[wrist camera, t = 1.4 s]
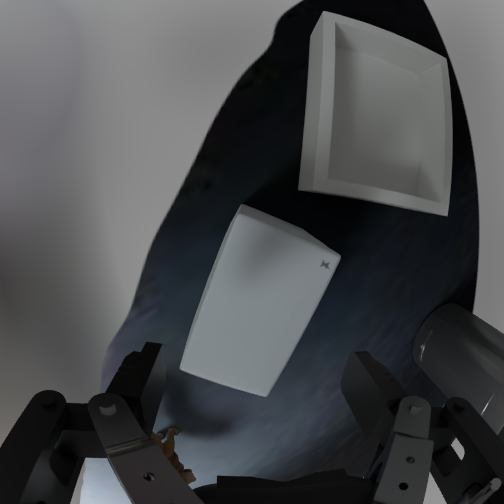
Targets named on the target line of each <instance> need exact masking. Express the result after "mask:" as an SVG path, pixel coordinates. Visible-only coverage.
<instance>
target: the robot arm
mask: <svg viewBox="0 0 504 504" xmlns="http://www.w3.org/2000/svg"><path fill="white" fill-rule="evenodd" d="M413 358H414V360H415V362H416V363H417V364H418V365H419V366H420V367H421V369H422V370H423V371H424V372H425V373H426V374H427V375H428V376H429V377H430V378H431V380H432V381H433V382H434V383H435V384H436V385H437V386H438V387H439V388H440V390H441V391H442V392H443V393H444V394H445V395H446V396H447V397H448V398H449V399H448V400H447V401H446V403H445V405H444V407H430V405H429V403H428V402H427V401H425V400H424V399H422V398H420V397H416V396H409V395H408V394H407V393H406V392H405V390H404V389H403V388H402V387H401V385H400V384H399V383H398V382H397V380H395V378H394V377H393V375H392V374H391V373H390V372H389V370H388V369H387V368H386V367H385V366H384V365H382V364H381V363H379V362H378V361H375V360H374V359H373V357H372V356H371V355H370V354H369V353H368V352H367V351H364V352H351V353H350V355H349V357H348V360H347V364H346V367H345V370H344V373H343V377H342V380H341V390H342V393H343V395H344V397H345V399H346V401H347V403H348V405H349V407H350V408H351V410H352V412H353V414H354V416H355V418H356V420H357V422H358V424H359V426H360V428H361V430H362V432H363V434H364V436H365V438H366V440H367V441H371V440H376V439H378V440H379V443H378V445H377V447H376V449H375V452H374V454H373V457H372V459H371V462H370V465H369V467H368V469H367V472H366V474H365V476H364V478H361V477H355V476H347V474H346V471H345V469H344V468H343V469H337V470H330V471H324V472H316V473H313V474H310V475H307V476H304V477H301V478H297V479H294V480H290V481H286V482H281V481H274V480H267V479H261V478H255V477H243V476H217V483H216V484H209V485H205V486H201V487H198V488H195V489H193V490H192V489H191V488H190V487H189V485H188V484H187V483H186V482H185V481H184V479H183V478H182V477H181V476H180V474H179V473H178V472H177V470H176V469H175V468H174V467H173V465H172V464H171V463H170V461H169V460H168V459H167V457H166V456H165V455H164V453H163V452H162V450H161V449H160V448H159V446H158V445H157V443H156V442H155V441H154V440H153V439H152V438H150V437H151V434H152V430H153V427H154V423H155V420H156V416H157V413H158V409H159V406H160V403H161V399H162V396H163V393H164V389H165V386H166V358H165V346H164V344H160V343H153V342H146V343H145V345H144V347H143V349H142V351H141V352H136V351H133V352H132V353H130V354H129V355H128V356H126V357H125V359H124V360H123V362H122V364H121V366H120V367H119V369H118V372H116V374H115V376H114V378H113V379H112V381H111V383H110V385H109V387H108V388H107V390H106V392H105V393H100V394H97V395H95V396H93V397H92V398H91V399H90V400H89V402H88V403H86V404H85V403H84V404H81V403H67V402H66V400H65V398H64V396H63V395H62V394H61V393H59V392H57V391H53V390H45V391H41V392H39V393H37V394H36V395H34V397H33V398H32V399H31V401H30V402H29V404H28V405H27V407H26V408H25V410H24V411H23V412H22V414H21V416H20V417H19V419H18V420H17V422H16V423H15V425H14V426H13V428H12V430H11V431H10V433H9V434H8V436H7V437H6V439H5V441H4V442H3V444H2V446H1V447H0V504H70V502H71V499H72V496H73V492H74V489H75V486H76V483H77V479H78V477H79V474H80V471H81V468H82V465H83V462H84V460H85V457H86V458H107V459H108V461H109V463H110V465H111V467H112V469H113V471H114V473H115V475H116V477H117V479H118V481H119V482H120V484H121V486H122V488H123V489H124V491H125V493H126V495H127V496H128V498H129V500H130V502H131V503H132V504H423V501H424V497H425V492H426V488H427V483H428V477H429V472H430V473H431V474H432V476H433V478H434V480H435V482H436V484H437V485H438V487H439V489H440V491H441V493H442V495H443V497H444V499H445V501H446V503H447V504H504V334H503V333H501V332H500V331H499V330H497V329H495V328H494V327H492V326H491V325H489V324H488V323H486V322H485V321H483V320H482V319H480V318H478V317H477V316H476V315H474V314H472V313H471V312H469V311H467V310H466V309H464V308H463V307H461V306H459V305H457V304H455V303H449V304H445V305H443V306H441V307H439V308H437V309H436V310H435V311H434V312H432V313H431V314H430V315H429V317H428V318H427V319H426V320H425V321H424V323H423V324H422V326H421V327H420V329H419V331H418V333H417V335H416V338H415V341H414V344H413ZM455 438H457V439H458V441H459V442H460V443H461V445H462V446H463V447H464V451H465V454H464V457H463V459H462V460H460V458H459V457H458V455H457V454H456V452H455V451H454V449H453V448H452V446H451V444H452V442H453V441H454V439H455Z"/></svg>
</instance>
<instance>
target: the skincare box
mask: <svg viewBox="0 0 504 504" xmlns="http://www.w3.org/2000/svg"><path fill="white" fill-rule="evenodd" d="M340 259H341V256H340V255H339V254H338V253H336V252H335V251H333V250H331V249H330V248H328V247H327V246H326V245H324V244H323V243H322V242H320V241H319V240H317V239H316V238H315V237H313V236H312V235H310V234H309V233H307V232H306V231H305V230H304V229H302V228H300V227H297V226H295V225H293V224H290V223H288V222H286V221H283V220H281V219H279V218H276V217H274V216H271V215H269V214H267V213H264V212H262V211H259V210H257V209H254V208H252V207H249V206H247V205H244V204H241V205H240V207H239V209H238V211H237V213H236V214H235V216H234V218H233V220H232V222H231V224H230V226H229V229H228V231H227V233H226V236H225V238H224V240H223V243H222V245H221V248H220V250H219V253H218V255H217V258H216V260H215V263H214V266H213V268H212V271H211V273H210V276H209V279H208V281H207V284H206V287H205V289H204V292H203V295H202V298H201V300H200V303H199V306H198V309H197V312H196V315H195V318H194V321H193V324H192V327H191V330H190V333H189V337H188V340H187V343H186V347H185V350H184V354H183V358H182V361H181V365H180V369H181V370H183V371H185V372H187V373H190V374H193V375H195V376H198V377H201V378H204V379H207V380H210V381H213V382H216V383H219V384H222V385H225V386H228V387H232V388H235V389H239V390H242V391H245V392H249V393H253V394H256V395H260V396H264V397H266V396H268V395H269V394H270V392H271V390H272V388H273V386H274V385H275V383H276V381H277V379H278V378H279V376H280V374H281V372H282V371H283V369H284V367H285V365H286V364H287V362H288V360H289V358H290V357H291V355H292V353H293V351H294V349H295V347H296V346H297V344H298V342H299V340H300V338H301V336H302V334H303V332H304V331H305V329H306V327H307V325H308V323H309V321H310V319H311V317H312V315H313V314H314V312H315V310H316V308H317V306H318V304H319V302H320V300H321V298H322V296H323V294H324V292H325V290H326V288H327V286H328V284H329V282H330V280H331V278H332V276H333V274H334V272H335V269H336V267H337V265H338V263H339V261H340Z"/></svg>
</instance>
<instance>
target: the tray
mask: <svg viewBox="0 0 504 504" xmlns="http://www.w3.org/2000/svg"><path fill="white" fill-rule="evenodd" d="M452 145H453V134H452V106H451V92H450V82H449V74H448V66H447V59H446V58H444V57H442V56H440V55H439V54H437V53H435V52H433V51H431V50H429V49H427V48H425V47H423V46H421V45H419V44H417V43H415V42H412V41H410V40H408V39H406V38H403V37H401V36H399V35H396V34H394V33H391V32H389V31H386V30H384V29H381V28H378V27H376V26H373V25H370V24H367V23H364V22H361V21H358V20H355V19H351V18H348V17H345V16H341V15H338V14H334V13H330V12H326V11H323V13H322V15H321V17H320V19H319V21H318V22H317V24H316V26H315V28H314V30H313V32H312V34H311V36H310V51H309V69H308V84H307V98H306V111H305V123H304V134H303V145H302V156H301V166H300V175H299V185H298V190H300V191H307V192H314V193H321V194H328V195H334V196H341V197H347V198H353V199H359V200H364V201H370V202H376V203H381V204H386V205H391V206H396V207H401V208H406V209H411V210H416V211H421V212H427V213H433V214H438V215H444V216H447V215H448V207H449V198H450V187H451V174H452Z"/></svg>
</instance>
